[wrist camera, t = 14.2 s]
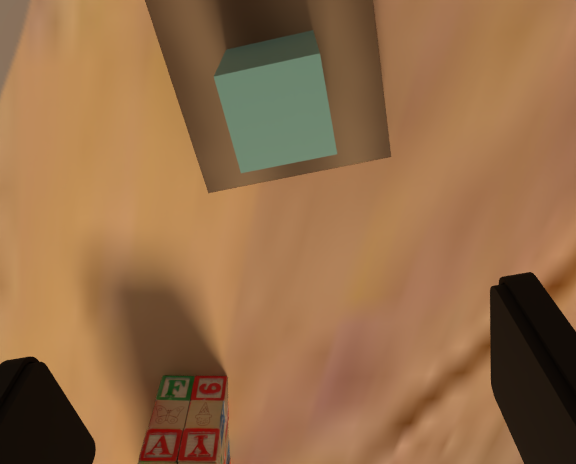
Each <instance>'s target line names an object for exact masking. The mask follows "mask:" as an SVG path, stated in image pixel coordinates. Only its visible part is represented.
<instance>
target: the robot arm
mask: <svg viewBox="0 0 576 464" xmlns="http://www.w3.org/2000/svg"><path fill="white" fill-rule="evenodd" d="M490 334H491V385H492V390H493V393H494V397H495V399H496V402H497V404H498V406H499V408H500V410H501V413H502V415H503V417H504V419H505V422H506V424H507V426H508V428H509V431H510V433H511V435H512V437H513V439H514V442H515V444H516V446H517V448H518V451H519V453H520V455H521V457H522V460H523V462H524V464H576V331H575V330H574V329H573V327H572V326H571V324H570V323H569V322H568V320H567V319H566V317H565V316H564V315H563V313H562V312H561V311H560V309H559V308H558V306H557V305H556V304H555V302H554V301H553V299H552V298H551V297H550V295H549V294H548V293H547V291H546V290H545V288H544V287H543V286H542V284H541V283H540V281H539V280H538V279H537V277H536V276H535V275H534V274H533V273H531V272H528V273H522V274H516V275H510V276H504V277H501V278H500V280H499V285H496V286H492V287H491V289H490ZM95 451H96V449H95V442H94V440H93V438H92V436H91V435H90V433H89V432H88V430H87V428H86V427H85V425H84V424H83V422H82V421H81V419H80V417H79V416H78V414H77V413H76V411H75V410H74V408H73V406H72V405H71V403H70V402H69V400H68V399H67V397H66V395H65V394H64V392H63V391H62V389H61V388H60V386H59V384H58V383H57V381H56V380H55V378H54V377H53V375H52V373H51V372H50V370H49V369H48V367H47V366H46V364H45V363H43V362H39V361H38V360H37V359H36V358H34V357H24V358H18V359H13V360H7V361H4V362H2V363H1V364H0V464H92V463H93V460H94V457H95Z"/></svg>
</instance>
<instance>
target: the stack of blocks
mask: <svg viewBox="0 0 576 464" xmlns="http://www.w3.org/2000/svg"><path fill="white" fill-rule="evenodd" d="M155 402H156V403H155V406H154V410H153V413H152V416H151V420H150V424H149V429H148V430H147V431H146V435H145V438H144V442H143V445H142V449H141V453H140V456H139V462H138V464H231V462H230V455H229V433H228V419H229V417H228V378H227V376H162V380H161V383H160V386H159V389H158V393H157V396H156V399H155Z"/></svg>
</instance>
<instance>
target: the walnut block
mask: <svg viewBox="0 0 576 464" xmlns="http://www.w3.org/2000/svg"><path fill="white" fill-rule="evenodd" d="M145 2H146V5H147V8H148V11H149V14H150V17H151V20H152V23H153V26H154V29H155V32H156V35H157V38H158V41H159V44H160V47H161V50H162V53H163V56H164V59H165V62H166V65H167V68H168V72H169V75H170V78H171V81H172V84H173V87H174V90H175V93H176V96H177V99H178V102H179V105H180V108H181V111H182V114H183V117H184V120H185V123H186V126H187V129H188V132H189V135H190V138H191V141H192V144H193V148H194V151H195V154H196V157H197V160H198V163H199V166H200V169H201V172H202V175H203V178H204V181H205V184H206V187H207V190H208V193H211V192H216V191H221V190H227V189H232V188H237V187H242V186H247V185H252V184H257V183H262V182H267V181H272V180H277V179H282V178H287V177H292V176H297V175H302V174H307V173H312V172H317V171H322V170H327V169H332V168H337V167H342V166H347V165H353V164H358V163H363V162H368V161H373V160H378V159H383V158H388V157H391V151H390V143H389V134H388V126H387V117H386V108H385V100H384V91H383V82H382V74H381V65H380V57H379V48H378V39H377V31H376V22H375V14H374V5H373V0H145ZM311 30H313V31H314V35H315V38H316V41H317V45H318V48H319V52H320V56H321V62H322V68H323V74H324V80H325V86H326V91H327V97H328V103H329V109H330V115H331V120H332V126H333V132H334V138H335V144H336V149H337V154H336V155H331V156H326V157H321V158H316V159H311V160H306V161H301V162H296V163H290V164H285V165H280V166H275V167H270V168H265V169H260V170H255V171H250V172H245V173H241V172H240V168H239V164H238V161H237V157H236V154H235V150H234V147H233V143H232V140H231V136H230V133H229V129H228V126H227V122H226V119H225V115H224V111H223V108H222V104H221V101H220V97H219V94H218V90H217V87H216V83H215V80H214V75H215V73H216V70H217V68H218V66H219V64H220V62H221V60H222V57H223V55H224V53H225V51H226V50H227V49H231V48H236V47H240V46H245V45H249V44H254V43H258V42H263V41H267V40H271V39H276V38H280V37H285V36H289V35H294V34H298V33H303V32H307V31H311Z"/></svg>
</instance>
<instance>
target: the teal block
mask: <svg viewBox="0 0 576 464" xmlns="http://www.w3.org/2000/svg"><path fill="white" fill-rule="evenodd" d="M214 80H215V83H216V87H217V90H218V94H219V97H220V101H221V104H222V108H223V111H224V115H225V119H226V122H227V126H228V129H229V133H230V136H231V140H232V143H233V147H234V150H235V154H236V157H237V161H238V164H239V168H240V172H241V173H245V172H250V171H255V170H260V169H265V168H270V167H275V166H280V165H285V164H290V163H296V162H301V161H306V160H311V159H316V158H321V157H326V156H331V155H336V154H337V149H336V144H335V138H334V132H333V126H332V120H331V115H330V109H329V103H328V97H327V91H326V86H325V80H324V74H323V68H322V62H321V56H320V52H319V48H318V45H317V41H316V38H315V35H314V31H313V30H311V31H307V32H303V33H298V34H294V35H289V36H285V37H280V38H276V39H271V40H267V41H263V42H258V43H254V44H249V45H245V46H240V47H236V48H231V49H227V50H226V51H225V53H224V55H223V57H222V60H221V62H220V64H219V66H218V68H217V70H216V73H215V75H214Z"/></svg>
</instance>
